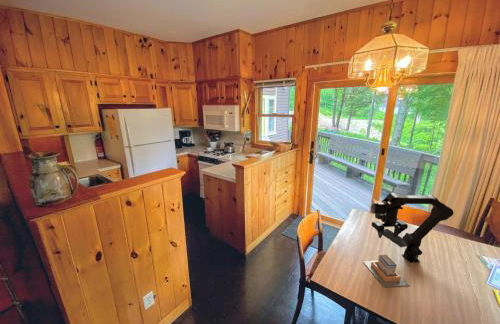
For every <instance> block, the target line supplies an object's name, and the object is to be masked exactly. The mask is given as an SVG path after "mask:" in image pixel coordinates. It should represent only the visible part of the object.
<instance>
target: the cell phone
mask: <svg viewBox="0 0 500 324" xmlns="http://www.w3.org/2000/svg"><path fill="white" fill-rule="evenodd" d="M393 235H394V231H392V230H390V229H389V228H386V229H385V228H384V233H383V235H382V236H384V237H385V238H387V239H388V240H390V241H391V242H393V243H395V245H397V246H399V247H401V248H403V247H406V246H405V245H404V243H403V242H402V238H403V237H401V236H400V235H397V236H396V237H394V236H393Z"/></svg>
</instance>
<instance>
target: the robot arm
mask: <svg viewBox="0 0 500 324" xmlns="http://www.w3.org/2000/svg"><path fill="white" fill-rule="evenodd" d="M405 205H431V206H432V208H431V210H430V214H429V216H428V217H427V218H426V219H425V220H424V221H423V222H422V223H421V224H420V225H419V226H417V228H416V229H415V230H414V231H413V232H411V233H409V232H406V233H405V234H404V235H403V236H402V237H401V238H402V242H403V243H404V245H405V246H404V247H405V250H404V252H403V253H402V254H401V256H402V257H403V258H404V259H405V260H406V261H407V262H409V263H410V264H411V263H420V262H421V261H420V259H419V256H422V254H424V253H423V251H422V250H421V249H420V247H421V245H422V240H423V239H424V238H425V237H426V236H427V235H428V234H429V233H430V232H431V231H432V230H433V229H434V228H435V227H436V226H437V225H438V224H439V223H440V222H443V221H446V220H448V219H450V218H451V217H452V216H453V215H454V210H453V209H452V208H451V207H450V206H448V205H446V204H445V203H443V202H441V201H440V200H439V199H438V198H437V197H435V196H434V195H430V194H428V195H412V194H411V195H408V194H407V195H405V194H401V193H398V192H397V193H395V192H390V193H388V194H387V196H386V197H385V198H383V199H382V200H381V202H377V201H373V203H372V204H371V206H370V209H371V213H372V214H373V215H374V217H375V219H377V221H372V222H371V227H372V228H374V229H375V230H376V231H377V235H378V238H379V239H382V237H383V236H384V235H383V233H384V229H385V228H392V227H393V228H394V229H393V233H394V235H393V236H394V237H396V236H397V235H398V236H400V234H401V233H402V232H403V231H405V230H408V227H409V226H408V224H407V223H406V222H405V221H404V220H402V219H399V217H398V214H399V210H404V208H403V207H402V206H405ZM378 220H380V221H381V222H382V223H381V222H380V221H378Z"/></svg>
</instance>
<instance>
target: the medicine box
mask: <svg viewBox="0 0 500 324" xmlns="http://www.w3.org/2000/svg"><path fill="white" fill-rule="evenodd" d="M377 260H378V264H377V266H378V267H379V269H380V270H381V271H382V272H383V273H384V274H385V275H386V277H389V276H394V275H395V270H396V269H397V264H396V263H395V261H393V260H392V258H390V257H389V256H388V255H387V254H379V256H378V259H377ZM396 271H397V270H396Z"/></svg>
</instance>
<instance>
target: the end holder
mask: <svg viewBox="0 0 500 324" xmlns="http://www.w3.org/2000/svg"><path fill="white" fill-rule="evenodd" d="M362 263H363V264H364V265H365V266H366V268H367V269H368V270H369V271H370V273H371V274H372V275H373V276H374V278H375V279H376V280H377V281H378V283H379V284H381V286H382V287H383V288H384V289H385V288H397V287H398V288H401V287H409V286H411V285H410V283H408V281H406V279H405V278H404V277H403V276H402V275H401V274H400V273H399V272H398V271H397V270H395V275H394V276H389V277H386V275H385V274H384V273H383V272H382V271H381V270H380V269H379V267H378V266H377V264H378V259H377V260H364V261H362Z"/></svg>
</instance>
